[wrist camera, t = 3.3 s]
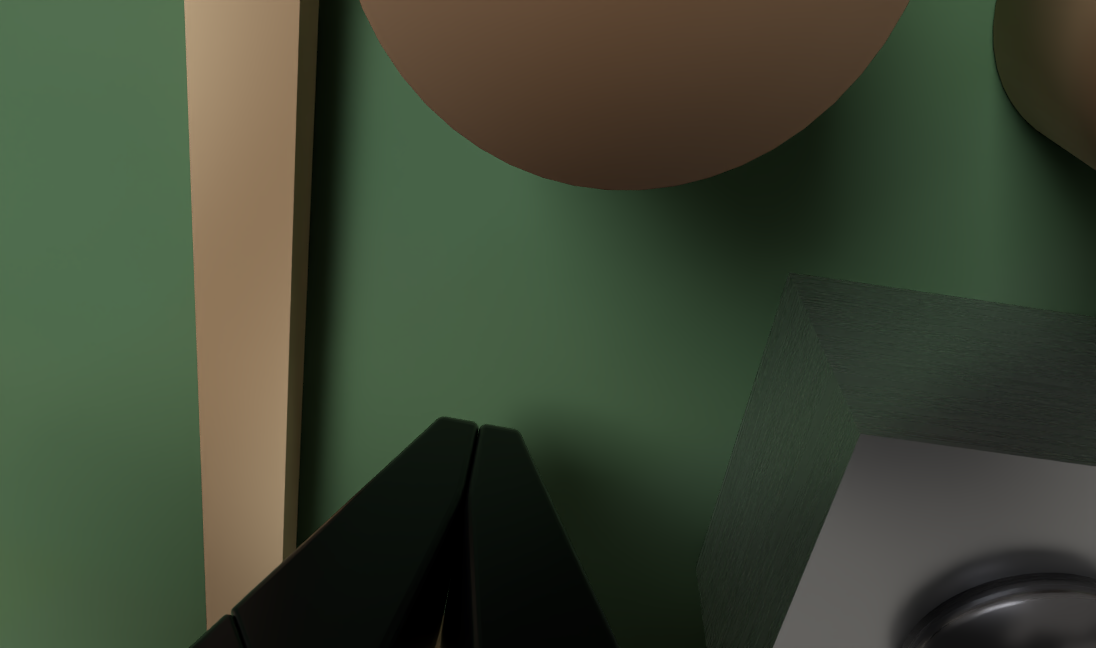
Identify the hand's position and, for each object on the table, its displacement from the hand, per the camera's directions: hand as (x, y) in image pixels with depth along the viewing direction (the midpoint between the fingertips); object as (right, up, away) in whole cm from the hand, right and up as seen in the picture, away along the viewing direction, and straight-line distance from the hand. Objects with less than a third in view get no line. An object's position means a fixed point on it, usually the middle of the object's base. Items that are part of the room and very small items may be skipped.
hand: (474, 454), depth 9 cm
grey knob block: (+5, 0, +2) cm, 6 cm away
